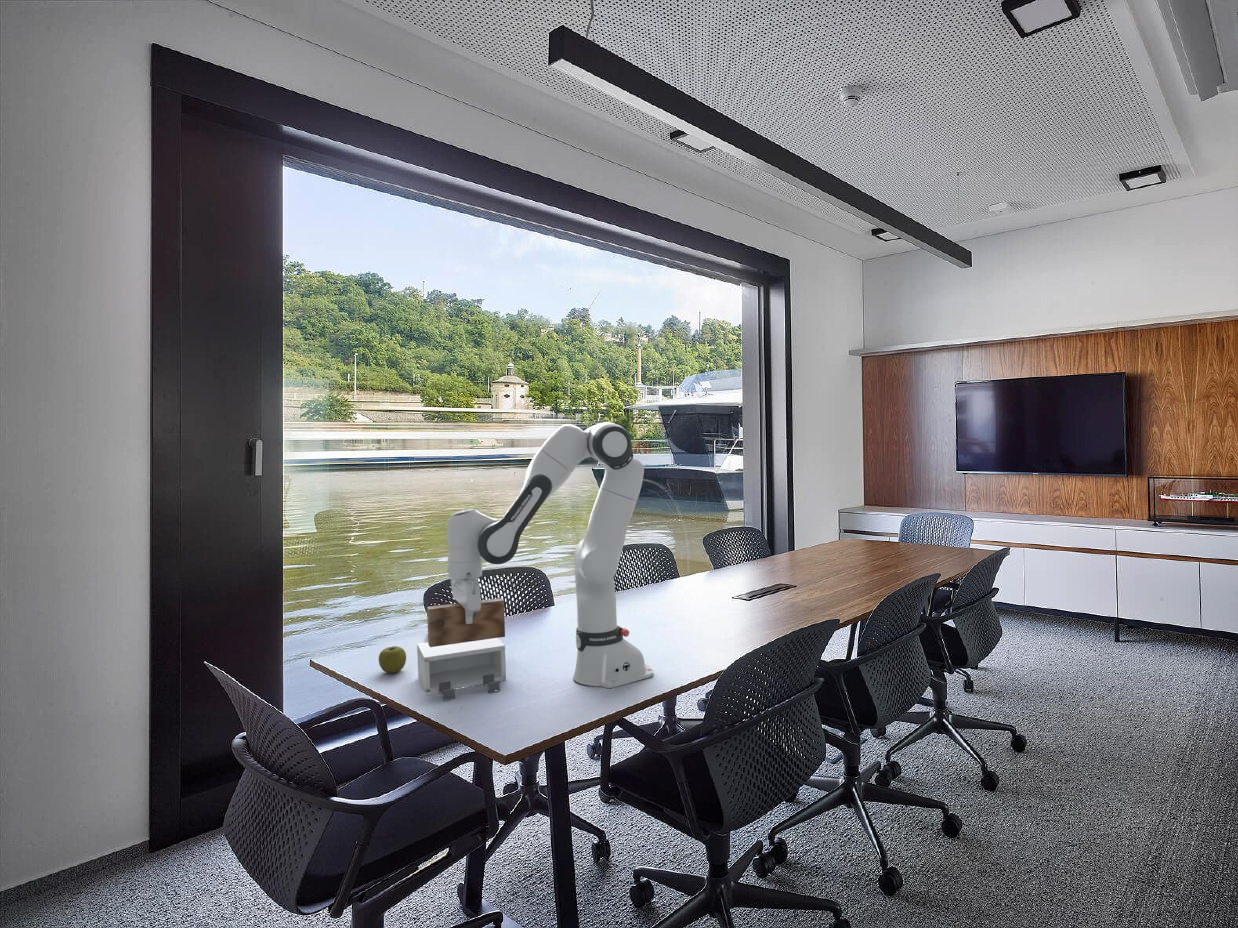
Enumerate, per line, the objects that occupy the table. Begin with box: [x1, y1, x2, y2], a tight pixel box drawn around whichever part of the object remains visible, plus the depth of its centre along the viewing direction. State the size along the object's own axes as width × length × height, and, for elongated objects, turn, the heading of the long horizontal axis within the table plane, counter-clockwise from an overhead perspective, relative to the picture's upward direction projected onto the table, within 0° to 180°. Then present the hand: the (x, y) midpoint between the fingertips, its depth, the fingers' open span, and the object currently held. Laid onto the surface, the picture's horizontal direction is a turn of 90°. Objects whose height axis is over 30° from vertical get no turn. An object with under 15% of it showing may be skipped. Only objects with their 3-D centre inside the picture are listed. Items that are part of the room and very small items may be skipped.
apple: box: [378, 645, 407, 674], centre depth 208 cm, size 8×8×7 cm
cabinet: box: [416, 638, 507, 701], centre depth 197 cm, size 22×21×10 cm
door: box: [426, 597, 506, 647], centre depth 189 cm, size 20×4×10 cm, turn 114°
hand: (467, 621), depth 189 cm, fingers closed on door, 3 cm apart
